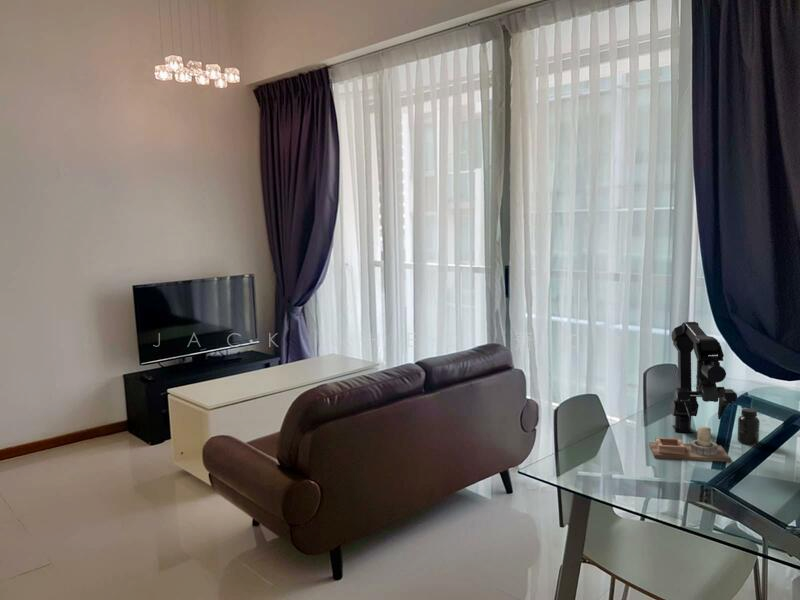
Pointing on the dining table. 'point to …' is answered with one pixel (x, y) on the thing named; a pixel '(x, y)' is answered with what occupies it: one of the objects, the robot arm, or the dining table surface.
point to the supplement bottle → (748, 427)
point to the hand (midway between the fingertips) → (704, 418)
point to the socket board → (687, 450)
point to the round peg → (704, 436)
